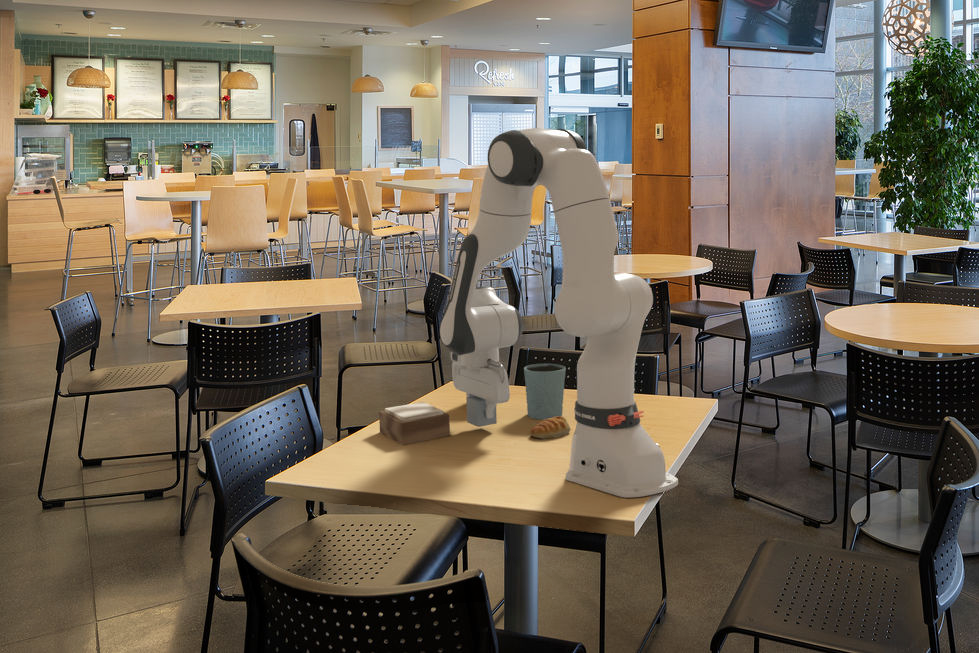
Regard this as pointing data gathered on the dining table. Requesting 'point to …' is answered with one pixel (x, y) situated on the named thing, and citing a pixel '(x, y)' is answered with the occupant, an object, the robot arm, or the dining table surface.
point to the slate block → (478, 412)
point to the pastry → (551, 428)
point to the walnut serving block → (414, 423)
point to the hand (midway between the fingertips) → (481, 414)
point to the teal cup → (544, 390)
